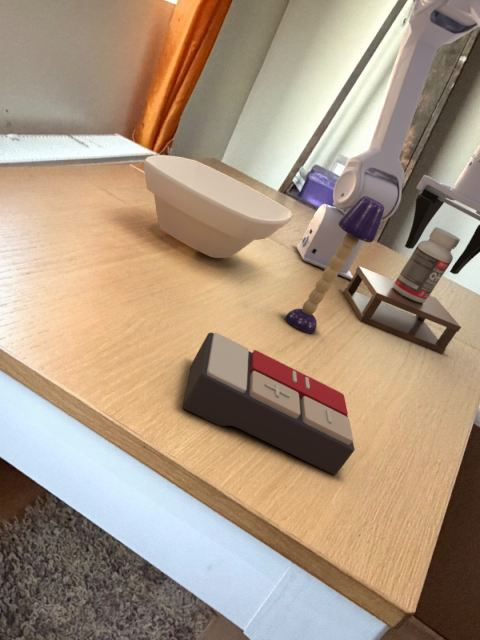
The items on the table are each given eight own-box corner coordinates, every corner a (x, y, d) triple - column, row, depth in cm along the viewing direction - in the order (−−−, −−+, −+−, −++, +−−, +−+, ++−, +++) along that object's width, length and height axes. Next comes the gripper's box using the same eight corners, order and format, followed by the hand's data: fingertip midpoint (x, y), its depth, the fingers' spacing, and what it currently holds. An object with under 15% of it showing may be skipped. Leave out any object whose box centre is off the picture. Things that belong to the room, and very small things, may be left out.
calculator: (361, 444, 64) (205, 367, 63) (332, 482, 67) (181, 408, 66) (349, 392, 73) (212, 323, 72) (324, 427, 76) (192, 361, 75)
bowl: (277, 270, 115) (306, 216, 110) (229, 288, 99) (260, 225, 94) (167, 209, 120) (189, 154, 115) (104, 216, 104) (127, 153, 99)
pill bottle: (419, 306, 110) (461, 242, 105) (387, 288, 112) (426, 225, 106) (427, 302, 114) (467, 240, 109) (396, 284, 116) (434, 223, 110)
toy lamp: (319, 329, 99) (391, 205, 90) (317, 340, 95) (392, 212, 86) (286, 313, 99) (354, 188, 90) (283, 323, 95) (354, 193, 86)
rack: (360, 320, 110) (377, 292, 107) (342, 292, 119) (358, 265, 117) (442, 353, 112) (461, 327, 109) (419, 323, 122) (436, 297, 119)
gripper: (545, 191, 102) (482, 283, 110) (453, 146, 108) (398, 236, 116) (534, 188, 97) (468, 285, 105) (437, 141, 103) (382, 236, 111)
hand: (430, 260), depth 110 cm, fingers open, 7 cm apart
